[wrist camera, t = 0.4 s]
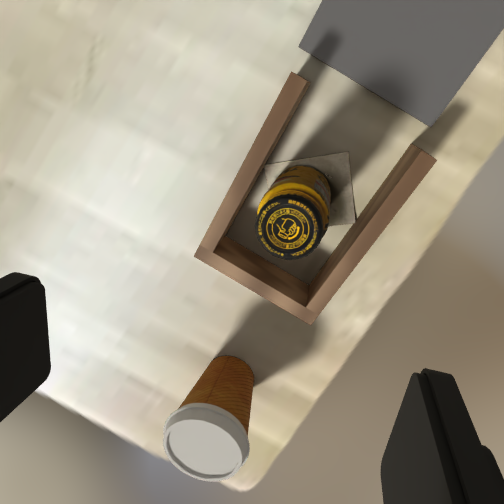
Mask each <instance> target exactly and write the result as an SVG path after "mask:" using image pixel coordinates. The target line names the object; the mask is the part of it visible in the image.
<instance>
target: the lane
mask: <svg viewBox="0 0 504 504" xmlns="http://www.w3.org/2000/svg"><path fill="white" fill-rule="evenodd" d="M310 83H311V82H309V81H307V80H306V79H304V78H302V77H301V76H299V75H297V74H295V73H293V72H291V73H290V75H289V77H288V79H287V81H286V83H285V85H284V86H283V88H282V90H281V92H280V94H279V96H278V98H277V100H276V102H275V103H274V105H273V107H272V109H271V111H270V113H269V115H268V117H267V119H266V120H265V122H264V124H263V126H262V128H261V130H260V132H259V134H258V136H257V137H256V139H255V141H254V143H253V145H252V147H251V149H250V151H249V153H248V154H247V156H246V158H245V160H244V162H243V164H242V166H241V168H240V170H239V172H238V173H237V175H236V177H235V179H234V181H233V183H232V185H231V187H230V189H229V190H228V192H227V194H226V196H225V198H224V200H223V202H222V204H221V206H220V207H219V209H218V211H217V213H216V215H215V217H214V219H213V221H212V223H211V224H210V226H209V228H208V230H207V232H206V234H205V236H204V238H203V240H202V241H201V243H200V245H199V247H198V249H197V251H196V253H195V255H194V257H196V258H197V259H199V260H201V261H203V262H204V263H206V264H208V265H209V266H211V267H213V268H214V269H216V270H218V271H219V272H221V273H223V274H225V275H226V276H228V277H230V278H231V279H233V280H235V281H236V282H238V283H240V284H241V285H243V286H245V287H247V288H248V289H250V290H252V291H253V292H255V293H257V294H258V295H260V296H262V297H264V298H265V299H267V300H269V301H270V302H272V303H274V304H275V305H277V306H279V307H280V308H282V309H284V310H286V311H287V312H289V313H291V314H292V315H294V316H296V317H297V318H299V319H301V320H302V321H304V322H306V323H308V324H309V325H311V324H312V323H313V322H314V320H315V319H316V318H317V317H318V315H319V314H320V313H321V311H322V310H323V309H324V307H325V306H326V305H327V304H328V302H329V301H330V300H331V298H332V297H333V296H334V294H335V293H336V292H337V290H338V289H339V288H340V287H341V285H342V284H343V283H344V281H345V280H346V279H347V277H348V276H349V275H350V273H351V272H352V271H353V270H354V268H355V267H356V266H357V264H358V263H359V262H360V260H361V259H362V258H363V256H364V255H365V254H366V253H367V251H368V250H369V249H370V247H371V246H372V245H373V243H374V242H375V241H376V240H377V238H378V237H379V236H380V234H381V233H382V232H383V230H384V229H385V228H386V226H387V225H388V224H389V223H390V221H391V220H392V219H393V217H394V216H395V215H396V213H397V212H398V211H399V209H400V208H401V207H402V206H403V204H404V203H405V202H406V200H407V199H408V198H409V196H410V195H411V194H412V192H413V191H414V190H415V189H416V187H417V186H418V185H419V183H420V182H421V181H422V179H423V178H424V177H425V176H426V174H427V173H428V172H429V170H430V169H431V168H432V166H433V165H434V164H435V162H436V161H437V160H436V159H435V158H433V157H432V156H430V155H429V154H427V153H426V152H424V151H423V150H421V149H420V148H418V147H416V146H415V145H413V144H411V145H410V146H409V147H408V149H407V150H406V152H405V153H404V154H403V156H402V157H401V158H400V160H399V161H398V163H397V164H396V165H395V167H394V168H393V170H392V171H391V172H390V174H389V175H388V177H387V178H386V179H385V181H384V182H383V184H382V185H381V186H380V188H379V189H378V190H377V192H376V193H375V195H374V196H373V197H372V199H371V200H370V202H369V203H368V204H367V206H366V207H365V209H364V210H363V211H362V213H361V214H360V216H359V217H358V218H357V220H356V221H355V223H354V224H353V225H352V227H351V228H350V229H349V231H348V232H347V234H346V235H345V236H344V238H343V239H342V241H341V242H340V243H339V245H338V246H337V247H336V249H335V250H334V252H333V253H332V254H331V256H330V257H329V259H328V260H327V261H326V263H325V264H324V266H323V267H322V268H321V270H320V271H319V273H318V274H317V275H316V277H315V278H314V279H313V281H312V282H311V284H310V285H307V284H306V283H304V282H302V281H301V280H299V279H297V278H296V277H294V276H292V275H291V274H289V273H287V272H286V271H284V270H282V269H281V268H279V267H277V266H275V265H274V264H272V263H270V262H269V261H267V260H265V259H264V258H262V257H260V256H259V255H257V254H255V253H254V252H252V251H250V250H248V249H247V248H245V247H243V246H242V245H240V244H238V243H237V242H235V241H233V240H232V239H230V238H228V237H227V236H226V234H227V232H228V230H229V228H230V227H231V225H232V223H233V221H234V220H235V218H236V216H237V214H238V212H239V211H240V209H241V207H242V205H243V203H244V202H245V200H246V198H247V196H248V194H249V193H250V191H251V189H252V187H253V185H254V184H255V182H256V180H257V178H258V176H259V175H260V173H261V171H262V169H263V167H264V166H265V164H266V162H267V160H268V158H269V157H270V155H271V153H272V151H273V150H274V148H275V146H276V144H277V142H278V141H279V139H280V137H281V135H282V133H283V132H284V130H285V128H286V126H287V124H288V123H289V121H290V119H291V117H292V115H293V114H294V112H295V110H296V108H297V106H298V105H299V103H300V101H301V99H302V97H303V96H304V94H305V92H306V90H307V88H308V87H309V85H310Z"/></svg>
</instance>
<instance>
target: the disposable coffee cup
mask: <svg viewBox="0 0 504 504" xmlns="http://www.w3.org/2000/svg"><path fill="white" fill-rule="evenodd" d="M253 382H254V376H253V372H252V370H251V368H250V367H249V366H248V365H247V364H246V363H245V362H244V361H242V360H240V359H238V358H236V357H232V356H221V357H218V358H216V359H214V360H213V361H211V363H210V364H209V366H208V367H207V369H206V370H205V372H204V373H203V374H202V376H201V377H200V379H199V380H198V381H197V383H196V384H195V386H194V387H193V389H192V390H191V391H190V393H189V394H188V396H187V397H186V399H185V400H184V401H183V403H182V404H181V406H180V407H179V408H178V409H177V410H176V411H174V412H173V413H172V414H171V415H170V416H169V417H168V419H167V420H166V422H165V425H164V433H163V434H164V438H163V446H164V450H165V453H166V455H167V457H168V458H169V459H170V461H171V462H172V463H173V464H174V465H175V466H176V467H177V468H178V469H179V470H181V471H182V472H184V473H185V474H187V475H189V476H191V477H194V478H196V479H200V480H204V481H222V480H226V479H229V478H230V477H232V476H234V475H235V474H236V473H237V472H238V471H239V469H240V467H242V466H243V464H244V463H245V462H246V460H247V458H248V456H249V441H248V427H249V419H250V410H251V401H252V391H253Z"/></svg>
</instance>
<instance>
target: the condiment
mask: <svg viewBox="0 0 504 504" xmlns="http://www.w3.org/2000/svg"><path fill="white" fill-rule="evenodd" d="M264 169H265V175H266V180H267V186H268V191H267V192H266V193H265V195H264V197H263V198H262V200H261V202H260V204H259V207H258V211H257V219H256V223H255V228H256V234H257V237H258V240H259V241H260V243H261V244H262V246H263V247H264V248H265V249H266V250H267V251H268V252H270V253H271V254H272V255H273V256H276V257H279V258H282V259H286V260H292V259H299V258H302V257H304V256H307V255H308V254H310V253H311V252H313V250H314V249H315V248H317V246H318V244H319V243H320V241H321V239H322V237H323V236H324V235H325V232H326V231H327V228H328V226H333V225H344V224H353V223H355V213H354V203H353V193H352V183H351V173H350V163H349V153H348V152H343V153H336V154H330V155H324V156H318V157H311V158H305V159H298V160H292V161H286V162H280V163H273V164H268V165H265V166H264ZM326 173H327V174H328V175H327V176H326V175H325V174H326ZM329 175H330V176H331V177H332V178H330V177H329Z"/></svg>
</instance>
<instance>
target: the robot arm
mask: <svg viewBox="0 0 504 504" xmlns="http://www.w3.org/2000/svg"><path fill="white" fill-rule="evenodd" d="M50 370H51V362H50V349H49V336H48V323H47V310H46V297H45V288H44V286H43V285H42V284H41V282H40V280H39V278H37V277H35V276H30V275H26V274H22V273H17V272H14V273H10V274H8V275H6V276H4V277H2V278H0V422H1V421H2V420H3V419H4V418H5V417H7V415H9V414H10V413H11V412H12V411H13V410H14V409H15V408H16V407H17V406H18V405H19V404H21V403H22V402H23V401H24V400H25V399H26V398H27V397H28V396H29V395H30V394H31V393H33V392H34V391H35V390H36V389H37V388H38V387H39V386H40V385H41V384H42V383H43V382H44V381H45V380H46V379H47V377H48V376H49V373H50ZM381 482H382V492H383V502H384V504H504V479H503V476H502V474H501V472H500V469H499V467H498V465H497V463H496V460H495V458H494V456H493V454H492V452H491V451H490V449H488V448H487V447H486V446H483V445H481V443H480V440H479V438H478V435H477V433H476V430H475V428H474V425H473V423H472V421H471V418H470V416H469V413H468V411H467V408H466V406H465V403H464V401H463V399H462V396H461V394H460V391H459V389H458V386H457V384H456V381H455V379H454V377H453V376H452V375H451V374H447V373H443V372H439V371H435V370H430V369H426V368H425V369H423V370H422V371H421V373H420V374H419V373H413V374H412V376H411V378H410V381H409V384H408V387H407V390H406V393H405V396H404V398H403V401H402V404H401V407H400V410H399V412H398V415H397V418H396V421H395V424H394V427H393V430H392V433H391V435H390V438H389V441H388V444H387V446H386V450H385V452H384V455H383V458H382V463H381Z"/></svg>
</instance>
